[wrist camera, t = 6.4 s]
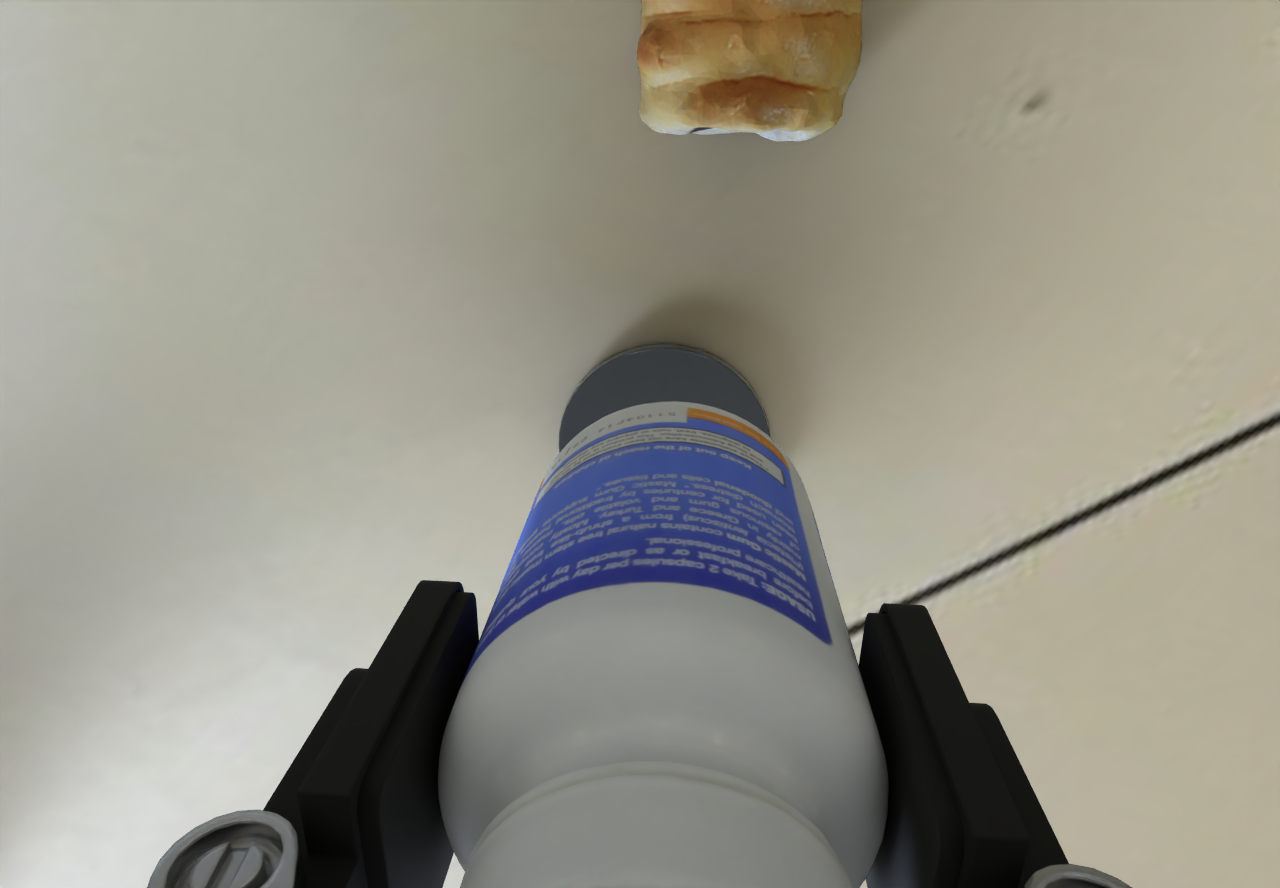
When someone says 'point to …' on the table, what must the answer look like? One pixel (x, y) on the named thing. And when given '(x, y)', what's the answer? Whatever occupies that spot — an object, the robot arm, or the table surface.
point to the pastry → (747, 65)
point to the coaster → (659, 386)
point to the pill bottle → (665, 678)
